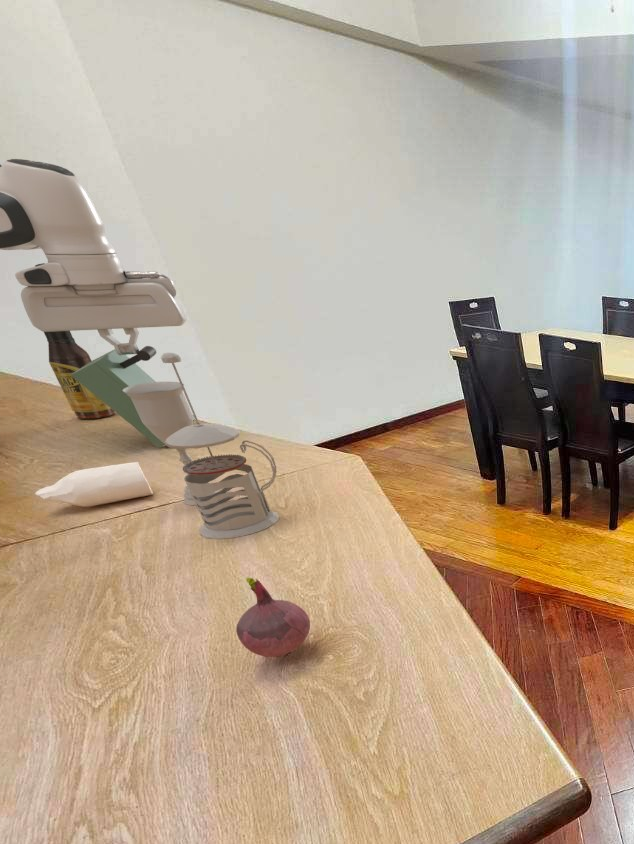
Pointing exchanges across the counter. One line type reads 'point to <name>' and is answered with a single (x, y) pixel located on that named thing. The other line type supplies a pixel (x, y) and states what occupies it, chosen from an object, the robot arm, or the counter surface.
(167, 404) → the chalice
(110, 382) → the green wedge with knob
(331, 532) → the counter surface
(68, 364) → the sauce bottle
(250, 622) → the vegetable
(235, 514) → the french press
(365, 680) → the counter surface
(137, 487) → the white bottle
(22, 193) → the robot arm
